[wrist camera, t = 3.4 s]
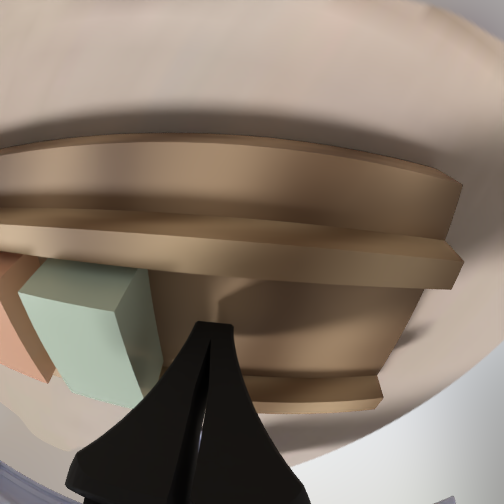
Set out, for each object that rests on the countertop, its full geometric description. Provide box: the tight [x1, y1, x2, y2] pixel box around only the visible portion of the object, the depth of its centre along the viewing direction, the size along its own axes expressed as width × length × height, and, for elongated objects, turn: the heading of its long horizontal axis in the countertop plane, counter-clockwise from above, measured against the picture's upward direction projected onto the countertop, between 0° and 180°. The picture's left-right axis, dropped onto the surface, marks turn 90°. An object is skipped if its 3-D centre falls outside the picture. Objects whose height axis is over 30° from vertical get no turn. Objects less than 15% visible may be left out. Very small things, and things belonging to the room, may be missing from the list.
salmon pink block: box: [0, 251, 56, 384], centre depth 10 cm, size 4×6×3 cm, turn 175°
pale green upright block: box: [18, 258, 164, 409], centre depth 10 cm, size 4×6×3 cm, turn 175°
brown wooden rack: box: [0, 133, 464, 414], centre depth 12 cm, size 24×14×4 cm, turn 85°
